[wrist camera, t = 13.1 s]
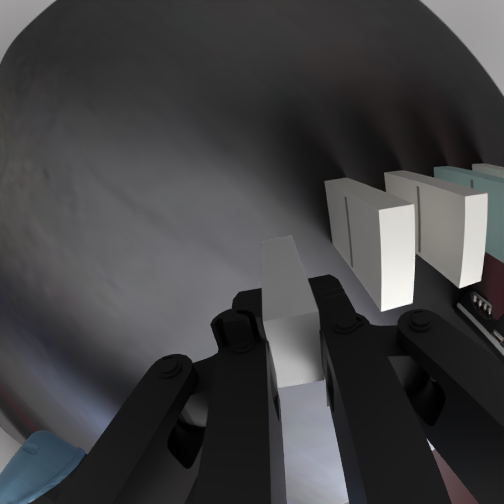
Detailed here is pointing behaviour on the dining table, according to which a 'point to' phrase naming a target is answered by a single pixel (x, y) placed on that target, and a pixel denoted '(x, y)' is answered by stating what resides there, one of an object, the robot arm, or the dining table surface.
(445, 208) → the domino
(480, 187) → the domino
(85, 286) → the dining table surface
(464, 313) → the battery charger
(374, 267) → the domino
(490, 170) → the end domino
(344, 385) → the robot arm
